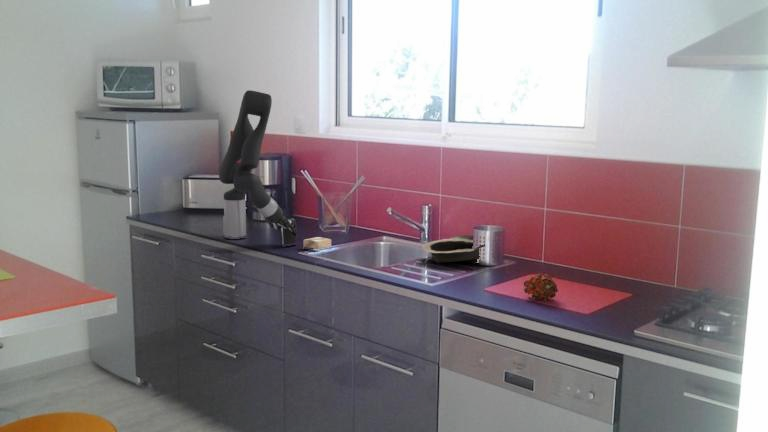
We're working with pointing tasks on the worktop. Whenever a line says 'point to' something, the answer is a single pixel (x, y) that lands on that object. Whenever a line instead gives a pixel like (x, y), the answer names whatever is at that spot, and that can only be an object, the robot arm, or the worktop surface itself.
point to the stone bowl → (453, 249)
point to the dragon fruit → (541, 287)
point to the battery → (287, 235)
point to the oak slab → (317, 243)
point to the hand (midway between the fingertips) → (290, 233)
